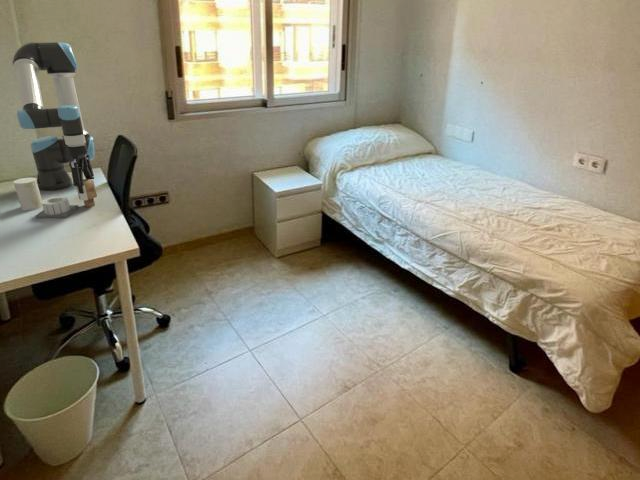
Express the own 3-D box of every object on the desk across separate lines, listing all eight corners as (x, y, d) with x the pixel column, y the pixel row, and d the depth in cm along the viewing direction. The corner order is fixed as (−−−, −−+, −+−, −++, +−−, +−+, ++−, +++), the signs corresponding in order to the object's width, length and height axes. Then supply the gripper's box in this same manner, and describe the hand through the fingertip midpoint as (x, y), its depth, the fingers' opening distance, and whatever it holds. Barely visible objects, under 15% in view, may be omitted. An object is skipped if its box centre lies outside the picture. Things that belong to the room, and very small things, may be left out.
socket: (50, 207, 190) (47, 195, 188) (78, 207, 191) (75, 195, 188) (35, 218, 179) (32, 205, 177) (65, 217, 180) (62, 205, 177)
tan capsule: (85, 202, 196) (79, 179, 191) (101, 202, 196) (96, 179, 191) (78, 208, 189) (72, 184, 185) (94, 208, 190) (89, 184, 185)
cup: (33, 211, 186) (25, 184, 181) (16, 209, 188) (8, 182, 182) (47, 204, 193) (40, 178, 188) (31, 202, 195) (24, 176, 190)
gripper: (77, 139, 190) (88, 189, 200) (54, 150, 172) (68, 205, 182) (95, 139, 190) (105, 189, 200) (74, 150, 172) (87, 205, 182)
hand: (88, 196), depth 191 cm, fingers closed on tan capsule, 7 cm apart
